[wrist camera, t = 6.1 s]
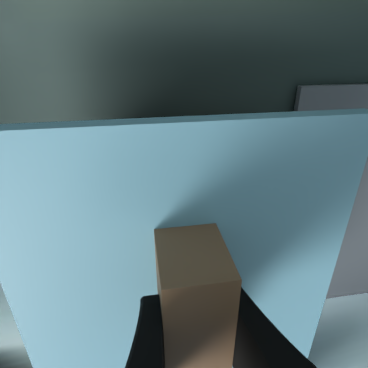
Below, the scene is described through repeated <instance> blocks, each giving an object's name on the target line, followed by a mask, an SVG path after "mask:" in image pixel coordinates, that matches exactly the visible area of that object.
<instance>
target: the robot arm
mask: <svg viewBox="0 0 368 368" xmlns="http://www.w3.org/2000/svg"><path fill="white" fill-rule="evenodd" d="M232 366H233V368H317V367H316V366H315V365H314V364H313V363H311V362H310V361H309V360H308V359H307V358H306V357H305V356H304V355H303V354H302V353H301V352H300V351H299V350H298V349H297V348H296V347H295V346H294V345H293V344H292V343H291V342H290V341H289V340H288V339H287V338H286V337H285V336H284V335H283V334H282V333H281V332H280V331H279V330H278V329H277V328H276V326H275V325H274V324H273V323H272V322H271V321H270V320H269V319H268V318H267V317H266V316H265V314H264V313H263V312H262V311H261V310H260V309H259V307H258V306H257V305H256V304H255V303H254V302H253V300H252V299H251V298H250V297H249V295H248V294H247V293H246V292H245V291H244V289H243V288H242V287H241V293H240V302H239V311H238V319H237V328H236V337H235V346H234V355H233V363H232ZM125 368H165V361H164V342H163V324H162V313H161V305H160V297H159V294H156V295H148V296H143V297H142V298H141V299H140V310H139V317H138V322H137V326H136V331H135V335H134V339H133V342H132V346H131V350H130V353H129V356H128V360H127V363H126V366H125Z"/></svg>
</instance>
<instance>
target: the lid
mask: <svg viewBox="0 0 368 368" xmlns="http://www.w3.org/2000/svg"><path fill="white" fill-rule="evenodd" d="M367 157H368V109H365V108H361V109H338V110H315V111H292V112H269V113H246V114H223V115H200V116H176V117H153V118H130V119H107V120H84V121H61V122H38V123H15V124H0V283H1V285H2V288H3V291H4V293H5V296H6V298H7V301H8V304H9V306H10V309H11V311H12V314H13V317H14V319H15V322H16V324H17V327H18V330H19V332H20V335H21V337H22V340H23V343H24V345H25V348H26V351H27V353H28V356H29V358H30V361H31V364H32V366H33V368H125V366H126V363H127V360H128V356H129V353H130V350H131V346H132V342H133V339H134V335H135V331H136V326H137V322H138V317H139V310H140V299H141V298H142V297H143V296H148V295H156V294H159V297H160V305H161V313H162V324H163V342H164V361H165V368H233V366H232V363H233V355H234V346H235V337H236V328H237V319H238V311H239V302H240V293H241V287H242V288H243V289H244V291H245V292H246V293H247V294H248V295H249V297H250V298H251V299H252V300H253V302H254V303H255V304H256V305H257V306H258V307H259V309H260V310H261V311H262V312H263V313H264V314H265V316H266V317H267V318H268V319H269V320H270V321H271V322H272V323H273V324H274V325H275V326H276V328H277V329H278V330H279V331H280V332H281V333H282V334H283V335H284V336H285V337H286V338H287V339H288V340H289V341H290V342H291V343H292V344H293V345H294V346H295V347H296V348H297V349H298V350H299V351H300V352H301V353H302V354H303V355H304V356H305V357H306V358H307V359H308V356H309V353H310V349H311V346H312V342H313V339H314V336H315V332H316V329H317V326H318V322H319V319H320V315H321V312H322V309H323V305H324V302H325V299H326V295H327V292H328V289H329V285H330V282H331V278H332V275H333V272H334V268H335V265H336V262H337V258H338V255H339V251H340V248H341V245H342V241H343V238H344V235H345V231H346V228H347V224H348V221H349V218H350V214H351V211H352V208H353V204H354V201H355V197H356V194H357V191H358V187H359V184H360V181H361V177H362V174H363V170H364V167H365V164H366V160H367Z"/></svg>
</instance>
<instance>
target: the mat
mask: <svg viewBox="0 0 368 368" xmlns="http://www.w3.org/2000/svg"><path fill="white" fill-rule="evenodd" d="M361 108H365V109H368V83H366V84H333V85H300V86H298V87H297V93H296V100H295V106H294V111H315V110H338V109H361ZM361 293H368V157H367V160H366V164H365V167H364V170H363V174H362V177H361V181H360V184H359V187H358V191H357V194H356V197H355V201H354V204H353V208H352V211H351V214H350V218H349V221H348V224H347V228H346V231H345V235H344V238H343V241H342V245H341V248H340V251H339V255H338V258H337V262H336V265H335V268H334V272H333V275H332V278H331V282H330V285H329V289H328V292H327V295H326V298H333V297H340V296H347V295H354V294H361Z"/></svg>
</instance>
